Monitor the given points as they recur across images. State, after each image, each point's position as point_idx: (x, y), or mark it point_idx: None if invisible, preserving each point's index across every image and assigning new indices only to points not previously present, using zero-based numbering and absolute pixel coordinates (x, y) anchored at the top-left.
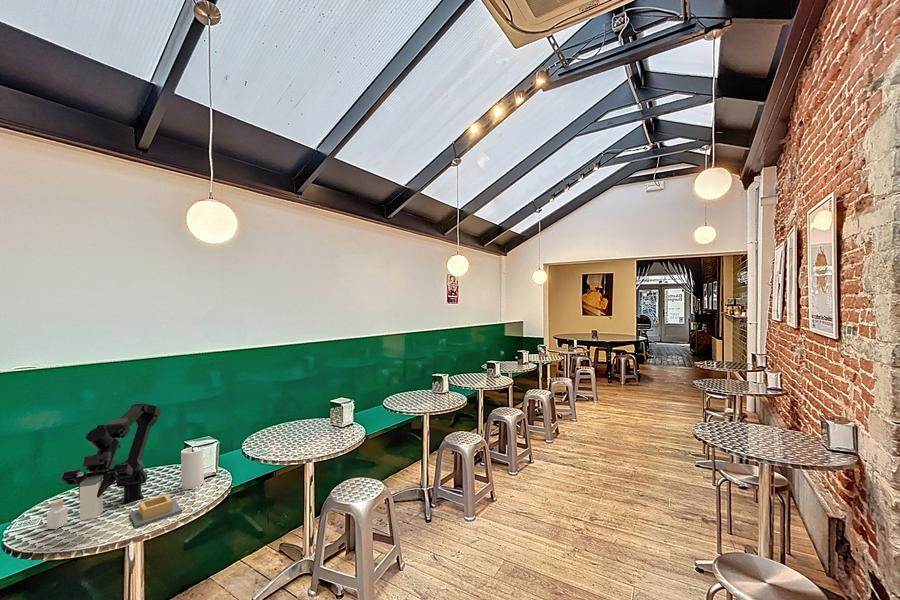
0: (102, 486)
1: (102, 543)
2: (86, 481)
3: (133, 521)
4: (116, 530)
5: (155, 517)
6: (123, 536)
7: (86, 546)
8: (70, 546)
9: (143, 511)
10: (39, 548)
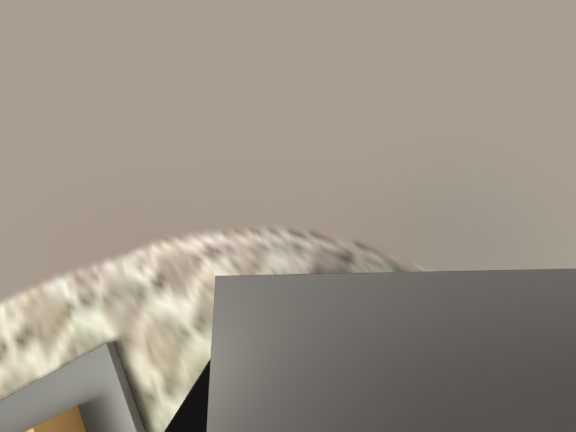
0: (183, 426)
1: (214, 246)
2: (511, 346)
3: (129, 408)
4: (199, 355)
5: (14, 412)
6: (148, 276)
7: (266, 245)
8: (330, 270)
9: (39, 425)
10: None
